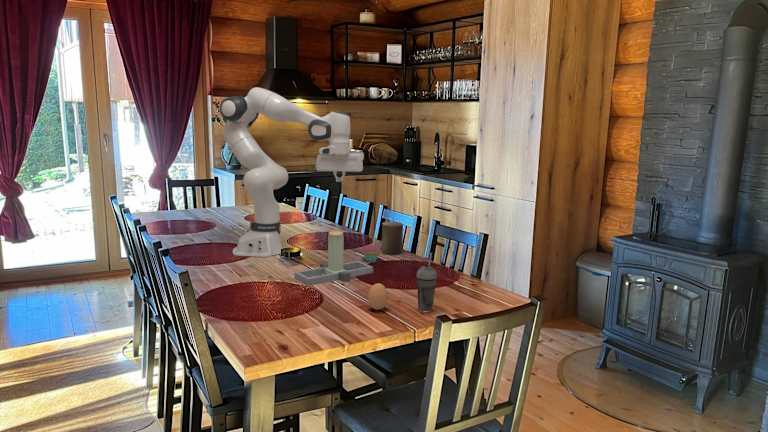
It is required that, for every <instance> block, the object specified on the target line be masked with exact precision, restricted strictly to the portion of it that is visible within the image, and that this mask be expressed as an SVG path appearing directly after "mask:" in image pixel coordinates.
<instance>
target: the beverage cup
mask: <svg viewBox="0 0 768 432" xmlns="http://www.w3.org/2000/svg"><path fill="white" fill-rule="evenodd" d="M432 255H433V252H430V255H429V260H428V265H427V264H425V265H422V266H421V267H419V268H418V269H417V272H416V275H415V279H416V280H415V281H416V286H417V287H416V289H417V306H418V308H417V309H418V311H419V310H421V311H431V310H432V311H433V306H434V299H435V290H436V285H437V280H438V273H437V271H436V269H435V268H434V267H433V266H431V262H432ZM432 311H431V312H432Z"/></svg>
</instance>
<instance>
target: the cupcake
mask: <svg viewBox="0 0 768 432" xmlns="http://www.w3.org/2000/svg"><path fill="white" fill-rule="evenodd" d="M376 237H377V236H376V234H374V236H373V241H372V244H369V243H368V244H365V245H363V246H362V247H361V248H360V249H361V251H360V253H361V254H363V257H364V261H366V262H371V263H372V262H373V263H374V262H376V261H377V260H378V256H379V254H380V253H381V252H382V248H380V247H379V246H378V245H376V244H375V242H376Z"/></svg>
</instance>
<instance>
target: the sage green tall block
mask: <svg viewBox="0 0 768 432" xmlns="http://www.w3.org/2000/svg"><path fill="white" fill-rule="evenodd" d="M327 235H328V236H327V237H328V238H327V263H328V268H325V269H324V273H325V274H324V275H327V274H332V273H338V272H342V271H347V270H344V269H343V264H344V242H345V240H344V238H345V237H344V232H343V231H340V230H332V231H331V230H330V231H329V232H328V234H327Z"/></svg>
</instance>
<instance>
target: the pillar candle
mask: <svg viewBox="0 0 768 432" xmlns="http://www.w3.org/2000/svg"><path fill="white" fill-rule="evenodd" d="M381 228H382V230H381V253H382V254H385V255H391V256H396V255H401V254H403V244H404V243H403V241H404V240H403V237H404V223H402V222H399V221H385V222H382V227H381Z"/></svg>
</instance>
